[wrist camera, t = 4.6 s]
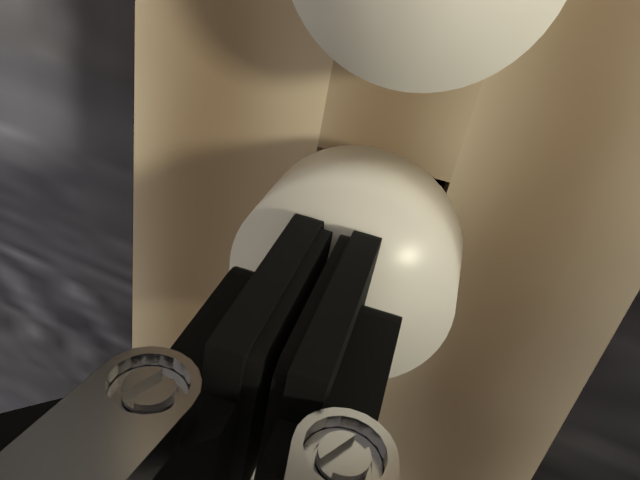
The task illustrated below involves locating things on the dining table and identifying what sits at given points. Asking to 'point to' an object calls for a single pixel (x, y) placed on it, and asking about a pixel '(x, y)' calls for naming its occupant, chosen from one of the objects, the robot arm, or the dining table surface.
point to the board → (438, 161)
